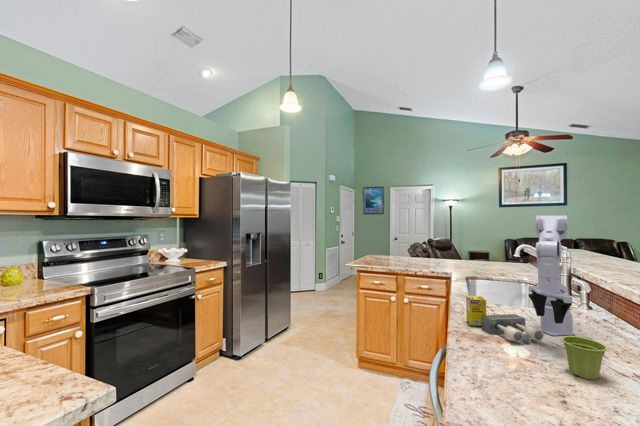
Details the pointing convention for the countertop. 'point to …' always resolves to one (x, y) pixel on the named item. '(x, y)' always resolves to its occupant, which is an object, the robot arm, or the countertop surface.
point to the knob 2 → (531, 331)
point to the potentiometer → (525, 339)
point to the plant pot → (584, 356)
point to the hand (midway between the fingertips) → (549, 319)
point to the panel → (501, 322)
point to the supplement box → (475, 310)
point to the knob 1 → (511, 332)
